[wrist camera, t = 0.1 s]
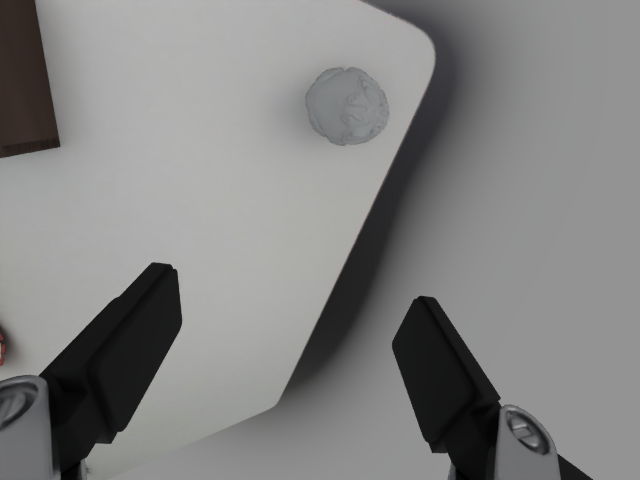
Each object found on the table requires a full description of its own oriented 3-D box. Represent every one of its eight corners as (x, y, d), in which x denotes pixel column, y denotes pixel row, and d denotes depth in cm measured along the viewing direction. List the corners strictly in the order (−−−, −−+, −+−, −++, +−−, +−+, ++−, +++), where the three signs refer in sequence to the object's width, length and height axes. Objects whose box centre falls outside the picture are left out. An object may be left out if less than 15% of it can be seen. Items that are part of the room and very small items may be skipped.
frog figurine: (361, 148, 27) (377, 162, 21) (298, 128, 25) (296, 137, 19) (383, 84, 24) (409, 79, 18) (313, 59, 23) (316, 44, 16)
